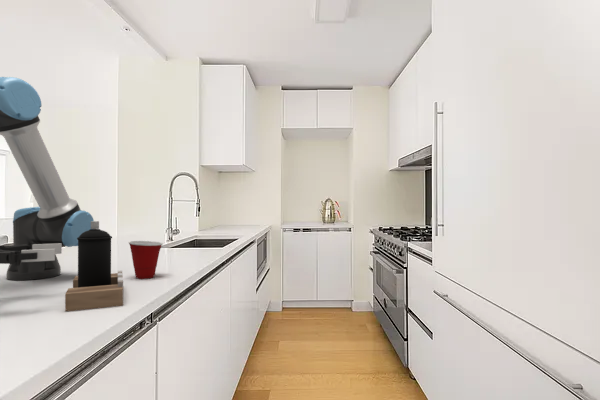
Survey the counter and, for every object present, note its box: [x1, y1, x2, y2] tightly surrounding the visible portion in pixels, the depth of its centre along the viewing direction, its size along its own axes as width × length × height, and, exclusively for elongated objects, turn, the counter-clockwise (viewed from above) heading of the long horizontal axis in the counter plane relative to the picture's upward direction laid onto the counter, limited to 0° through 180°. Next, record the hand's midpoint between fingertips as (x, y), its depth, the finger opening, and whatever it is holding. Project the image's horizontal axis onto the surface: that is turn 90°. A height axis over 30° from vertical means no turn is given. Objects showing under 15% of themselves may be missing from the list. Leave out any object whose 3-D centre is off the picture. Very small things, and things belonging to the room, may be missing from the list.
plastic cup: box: [128, 240, 164, 280], centre depth 130 cm, size 11×11×12 cm
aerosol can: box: [77, 220, 113, 288], centre depth 103 cm, size 8×8×20 cm
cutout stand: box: [64, 270, 124, 312], centre depth 103 cm, size 24×12×5 cm, turn 25°
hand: (58, 251), depth 99 cm, fingers open, 13 cm apart
